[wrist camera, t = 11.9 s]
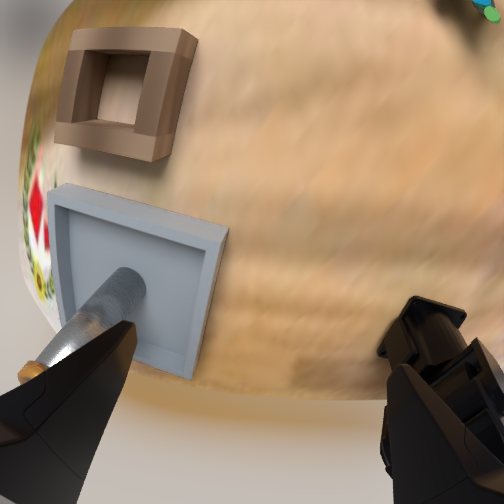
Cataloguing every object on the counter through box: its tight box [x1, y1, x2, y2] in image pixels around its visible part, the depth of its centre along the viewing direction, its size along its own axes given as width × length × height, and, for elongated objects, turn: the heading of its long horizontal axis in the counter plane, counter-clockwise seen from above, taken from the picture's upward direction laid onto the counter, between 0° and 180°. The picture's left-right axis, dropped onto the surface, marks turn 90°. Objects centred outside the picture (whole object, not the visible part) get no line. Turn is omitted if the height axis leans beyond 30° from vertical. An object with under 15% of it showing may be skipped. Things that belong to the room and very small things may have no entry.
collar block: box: [54, 27, 198, 162], centre depth 16 cm, size 8×8×3 cm
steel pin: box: [18, 267, 146, 385], centre depth 18 cm, size 4×4×12 cm
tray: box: [47, 183, 229, 380], centre depth 23 cm, size 14×14×2 cm
